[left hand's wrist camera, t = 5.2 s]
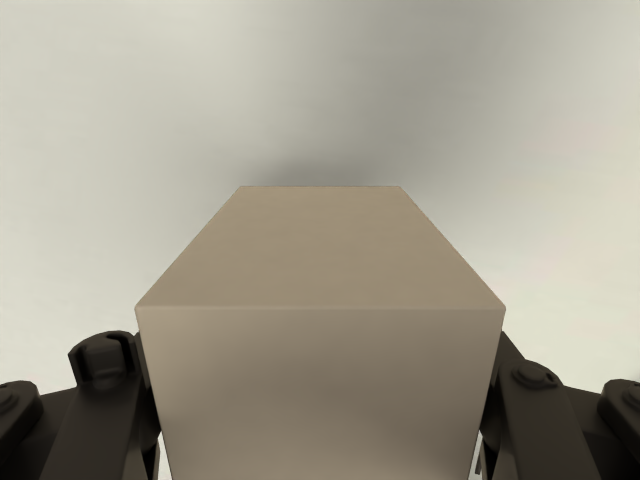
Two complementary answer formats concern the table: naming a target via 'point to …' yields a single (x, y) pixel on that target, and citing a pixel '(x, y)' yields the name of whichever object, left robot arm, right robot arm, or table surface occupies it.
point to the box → (320, 341)
